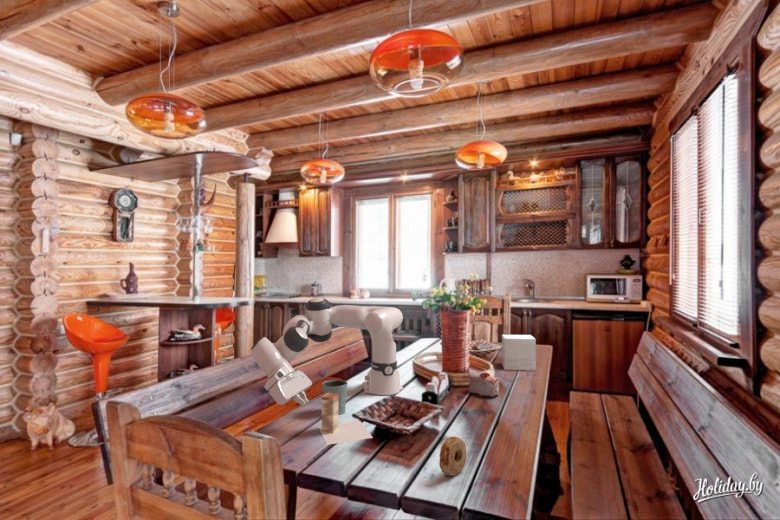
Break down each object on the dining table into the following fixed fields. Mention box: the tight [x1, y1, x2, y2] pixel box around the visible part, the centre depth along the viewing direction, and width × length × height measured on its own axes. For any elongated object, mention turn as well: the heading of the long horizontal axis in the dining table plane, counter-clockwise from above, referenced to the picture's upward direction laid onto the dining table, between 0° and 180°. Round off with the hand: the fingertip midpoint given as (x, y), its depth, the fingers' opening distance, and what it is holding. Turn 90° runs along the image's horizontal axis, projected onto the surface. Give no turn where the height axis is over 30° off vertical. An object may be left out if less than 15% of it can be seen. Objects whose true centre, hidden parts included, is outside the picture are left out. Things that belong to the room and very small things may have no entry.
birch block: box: [321, 393, 339, 433], centre depth 147 cm, size 4×4×12 cm
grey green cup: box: [321, 379, 348, 416], centre depth 165 cm, size 10×10×12 cm
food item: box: [468, 372, 501, 398], centre depth 189 cm, size 14×8×10 cm, turn 51°
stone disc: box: [439, 436, 468, 477], centre depth 118 cm, size 10×4×10 cm, turn 136°
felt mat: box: [317, 420, 373, 446], centre depth 145 cm, size 16×16×1 cm
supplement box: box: [501, 334, 537, 372], centre depth 236 cm, size 17×13×18 cm
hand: (305, 404), depth 149 cm, fingers closed
